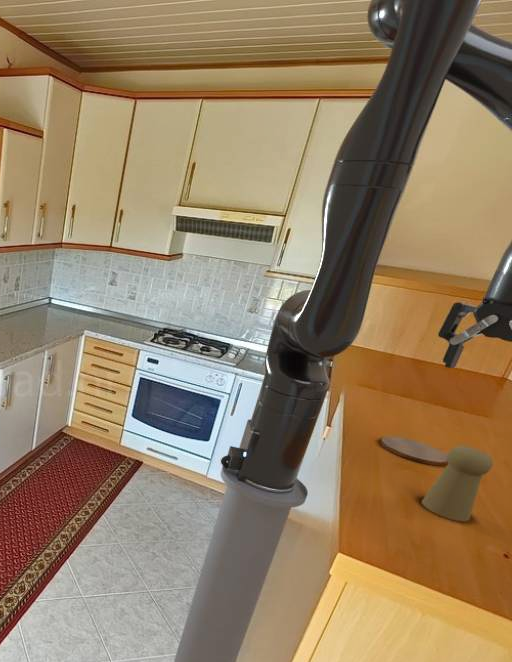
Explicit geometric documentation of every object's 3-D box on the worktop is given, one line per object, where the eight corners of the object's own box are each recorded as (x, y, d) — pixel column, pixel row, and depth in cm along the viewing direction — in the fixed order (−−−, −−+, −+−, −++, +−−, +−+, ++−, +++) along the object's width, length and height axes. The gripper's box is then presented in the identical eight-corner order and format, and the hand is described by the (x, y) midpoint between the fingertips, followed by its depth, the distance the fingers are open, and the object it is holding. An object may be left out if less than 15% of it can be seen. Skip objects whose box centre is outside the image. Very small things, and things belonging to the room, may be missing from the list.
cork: (479, 524, 76) (511, 462, 72) (437, 517, 77) (467, 456, 73) (452, 502, 82) (480, 444, 78) (413, 496, 83) (439, 438, 79)
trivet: (392, 457, 97) (394, 453, 97) (372, 435, 107) (373, 431, 107) (458, 470, 94) (460, 466, 94) (431, 446, 104) (433, 443, 104)
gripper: (460, 264, 75) (418, 363, 81) (594, 280, 64) (534, 394, 70) (480, 265, 79) (439, 360, 85) (610, 281, 67) (553, 390, 73)
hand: (482, 376), depth 77 cm, fingers open, 8 cm apart
